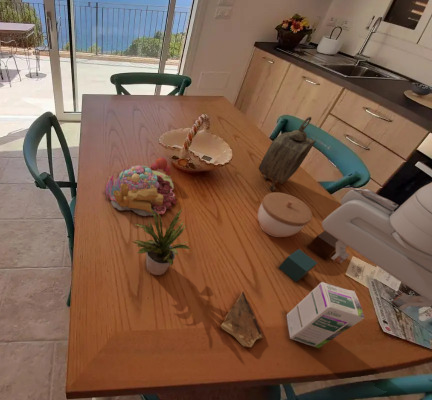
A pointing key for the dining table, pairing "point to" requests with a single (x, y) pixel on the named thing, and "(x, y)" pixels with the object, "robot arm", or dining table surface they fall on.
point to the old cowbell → (286, 155)
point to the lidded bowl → (283, 214)
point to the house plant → (161, 245)
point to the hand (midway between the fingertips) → (365, 280)
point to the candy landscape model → (143, 189)
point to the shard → (242, 323)
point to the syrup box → (324, 315)
